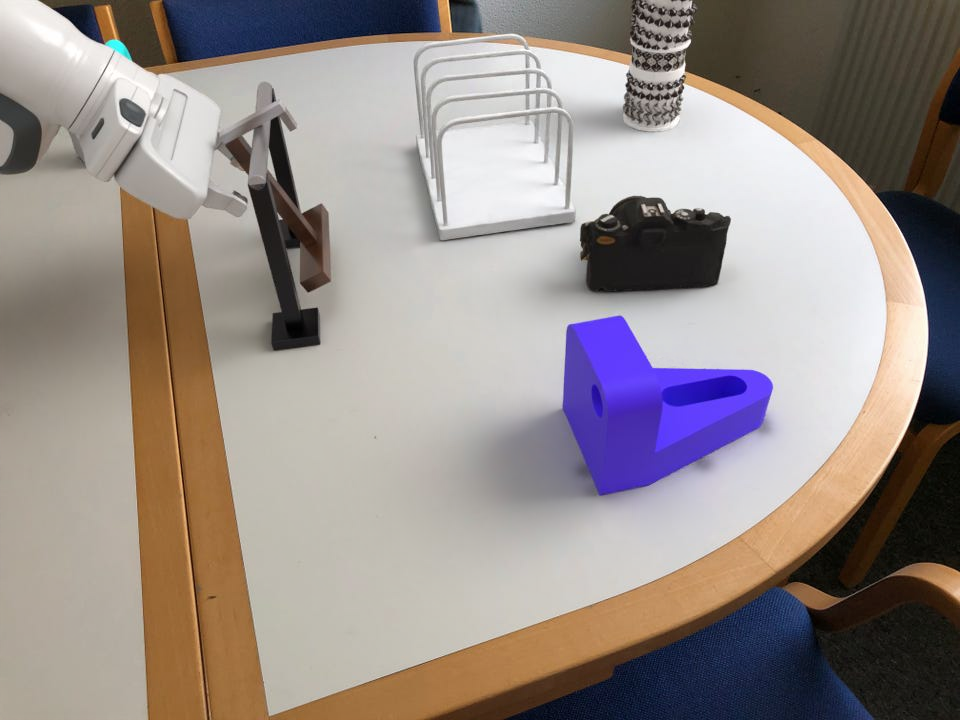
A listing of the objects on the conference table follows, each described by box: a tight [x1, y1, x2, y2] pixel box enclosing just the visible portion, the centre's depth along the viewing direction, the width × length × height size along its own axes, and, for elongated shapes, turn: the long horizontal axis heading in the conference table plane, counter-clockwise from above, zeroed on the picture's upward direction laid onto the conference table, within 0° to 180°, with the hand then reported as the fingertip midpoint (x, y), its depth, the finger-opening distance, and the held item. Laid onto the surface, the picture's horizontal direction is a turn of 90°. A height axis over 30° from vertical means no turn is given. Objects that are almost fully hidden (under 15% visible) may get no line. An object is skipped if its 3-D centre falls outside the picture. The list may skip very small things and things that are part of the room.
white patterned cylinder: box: [622, 0, 698, 133], centre depth 112 cm, size 9×9×25 cm
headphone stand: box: [219, 98, 332, 293], centre depth 85 cm, size 8×14×17 cm, turn 9°
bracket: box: [562, 315, 774, 496], centre depth 70 cm, size 18×11×12 cm, turn 103°
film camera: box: [579, 195, 732, 292], centre depth 89 cm, size 18×12×10 cm
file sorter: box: [413, 33, 577, 241], centre depth 103 cm, size 25×17×16 cm
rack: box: [247, 81, 321, 351], centre depth 87 cm, size 5×24×20 cm, turn 9°
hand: (247, 185), depth 84 cm, fingers open, 8 cm apart
